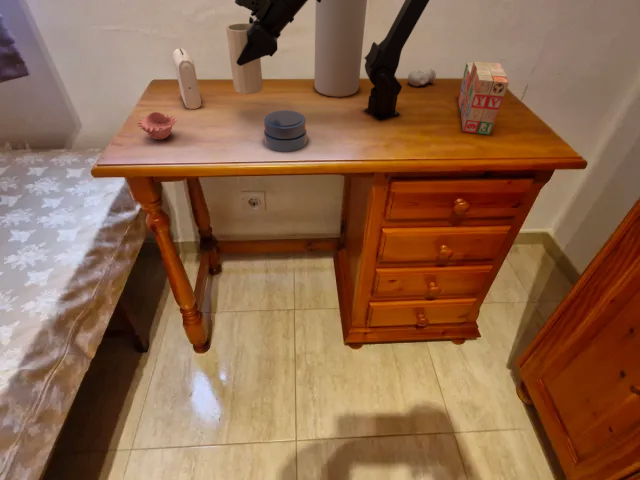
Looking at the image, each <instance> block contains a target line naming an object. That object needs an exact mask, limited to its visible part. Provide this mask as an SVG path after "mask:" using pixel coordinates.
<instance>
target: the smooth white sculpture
mask: <svg viewBox="0 0 640 480" xmlns="http://www.w3.org/2000/svg"><path fill="white" fill-rule="evenodd" d="M436 79H437V74H436V71H435V69H433V68H428V70H426V71H422V70H417V71H416V70H413V71H411V72H409V74H407V81H408V83H409V84H410V85H411V86H413V87H419V86H424V85H426V84H432V83H434V81H435V80H436Z"/></svg>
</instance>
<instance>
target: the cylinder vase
mask: <svg viewBox="0 0 640 480" xmlns="http://www.w3.org/2000/svg"><path fill="white" fill-rule="evenodd" d="M367 4H368V0H321V2H320V3H319V2H318V1H317V0H315V11H314V12H315V15H314V17H315V20H314V21H315V22H314V75H313V77H314V83H313V86H314V89H315V91H316V92H318V93H319V94H321V95H323V96H326V97H335V98H342V97H349V96H351V95H354V94H356V93H357V92H358V90H359V88H360V80H361V79H360V77H361V67H362V58H363V57H362V56H363V47H364V38H365V37H364V36H365V24H366V16H367V15H366V14H367V6H368V5H367Z"/></svg>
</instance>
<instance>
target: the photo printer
mask: <svg viewBox="0 0 640 480" xmlns="http://www.w3.org/2000/svg"><path fill="white" fill-rule="evenodd" d="M172 61H173V64H174V67H175V69H174V70H175V72H176V77H177V81H178V87H179V91H180V95H181V98H182V102H183V103H184V106H185V107H186V108H188V109H190V110H194V109H199V108H200V107H202V99H201V93H200V88H199V81H198V77H197V72H196V66H195V61H194V59H193V57H192V55H191V54H190V52H189V51H188V50H187V49H186V48H183V47H180V48H178V47H177V48H176V49H175V50H174V51H173V53H172Z"/></svg>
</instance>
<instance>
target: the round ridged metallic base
mask: <svg viewBox="0 0 640 480" xmlns="http://www.w3.org/2000/svg"><path fill="white" fill-rule="evenodd" d="M306 121H307V120H306V117H305V115H304V114H302V113H301V112H298V111H295V110H287V109H284V110H283V109H282V110H274V111H272V112H270V113H268V114H266V115H265V116H264V118H263V127H264V129H263V136H264V138H263V139H264V144H265V146H266V147H267V148H268V149H270V150H273V151H277V152H281V153H282V152H283V153H284V152H295V151H298V150H300V149H303V148H304V147H305V146H306V145H307V132H308V131H307V128H306V127H307V125H306V124H307V122H306Z"/></svg>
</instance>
